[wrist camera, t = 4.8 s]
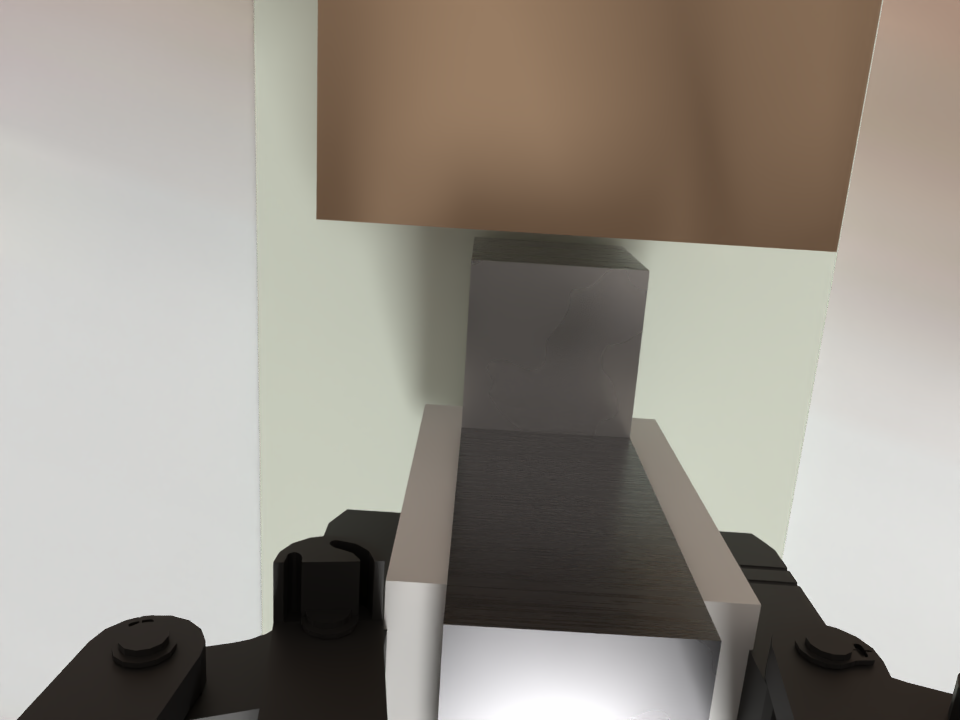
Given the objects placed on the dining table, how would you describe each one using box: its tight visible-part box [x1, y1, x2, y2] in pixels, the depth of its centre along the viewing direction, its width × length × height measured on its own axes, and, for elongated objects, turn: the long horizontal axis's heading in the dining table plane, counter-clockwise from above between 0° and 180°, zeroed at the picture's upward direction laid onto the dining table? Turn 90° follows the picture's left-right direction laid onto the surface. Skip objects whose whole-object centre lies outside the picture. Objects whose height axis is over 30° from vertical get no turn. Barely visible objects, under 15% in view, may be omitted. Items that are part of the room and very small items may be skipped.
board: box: [254, 0, 883, 635], centre depth 18 cm, size 12×30×6 cm, turn 176°
